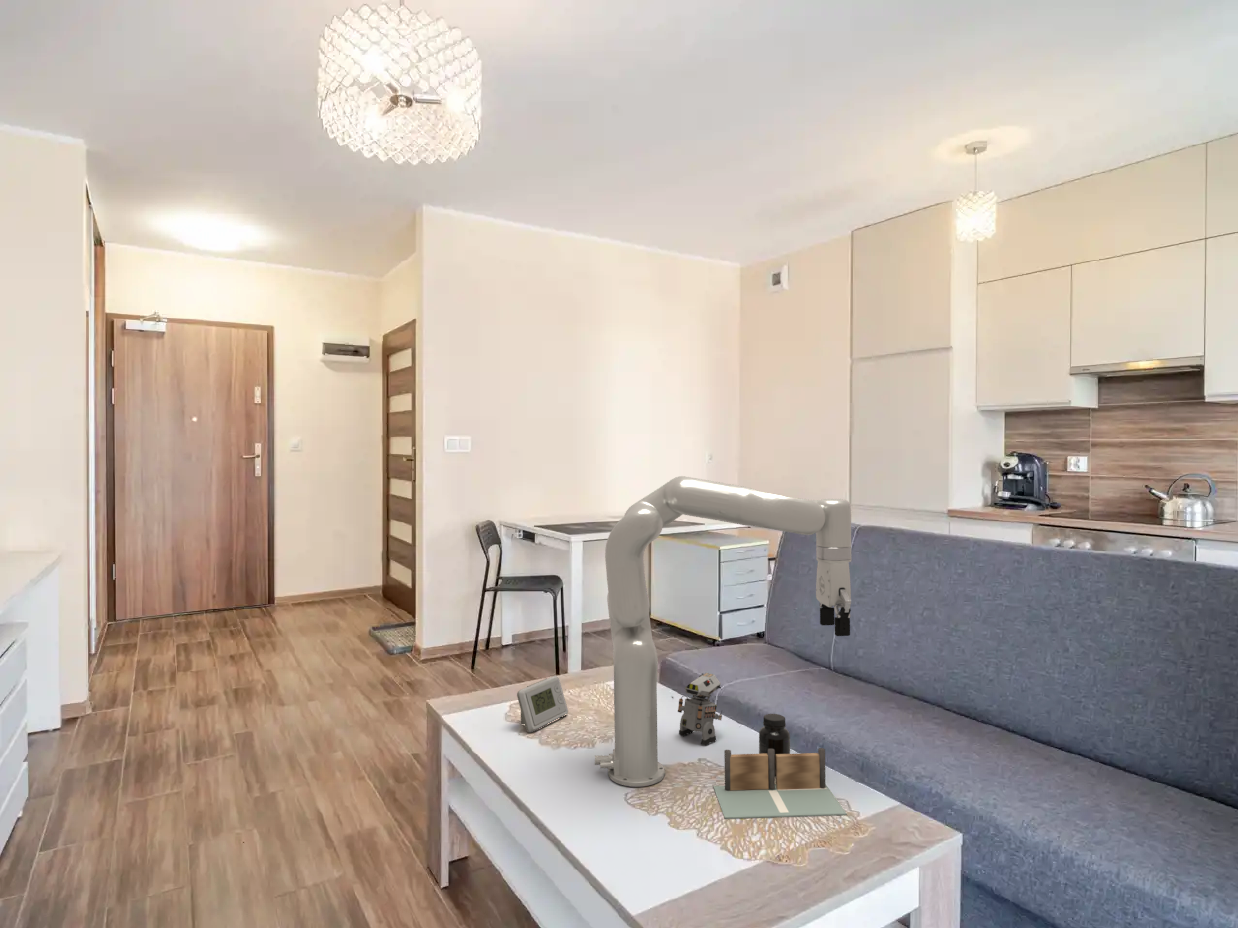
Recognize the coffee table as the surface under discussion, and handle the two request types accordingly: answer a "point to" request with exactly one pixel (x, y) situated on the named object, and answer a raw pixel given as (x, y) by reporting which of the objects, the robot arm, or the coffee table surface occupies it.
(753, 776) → the panel
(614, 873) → the coffee table surface
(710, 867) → the coffee table surface
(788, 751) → the supplement bottle
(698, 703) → the figurine
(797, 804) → the board
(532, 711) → the digital clock
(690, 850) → the coffee table surface
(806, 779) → the fence fixed panel
